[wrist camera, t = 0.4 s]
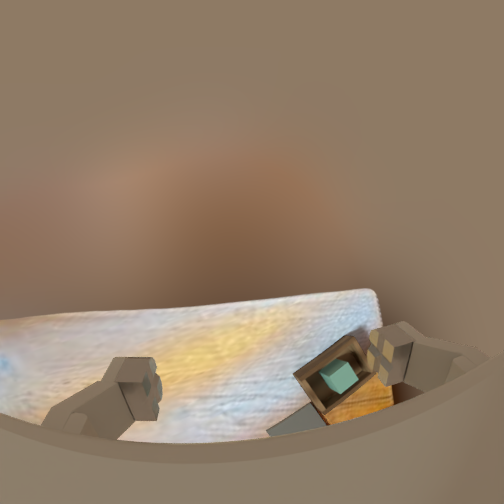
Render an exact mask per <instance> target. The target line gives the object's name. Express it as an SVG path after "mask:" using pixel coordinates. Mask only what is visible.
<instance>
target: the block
mask: <svg viewBox="0 0 504 504" xmlns="http://www.w3.org/2000/svg"><path fill="white" fill-rule="evenodd" d="M318 372H319V374H320V375H321V377H322V378H323V379H324V381H325V382H326V384H327V385H328V387H329V388H331V389H332V390H334V391H336V392H338V393H339V394H341V393H343V392H344V391H345V390H346V389H348V388H349V387H350V386H351V385H353V384H354V383H355V382H356V381H357V380H359V379H358V378H357V376H356V374H355V373H354V371H353V370H352V368H351V366H350V365H349V363H348V362H346V361H342V360H339V359H334V360H333V361H332V362H330V363H329V364H328V365H326V366H325V367H324V368H322V369H321V370H320V371H318Z"/></svg>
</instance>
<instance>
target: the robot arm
mask: <svg viewBox="0 0 504 504" xmlns="http://www.w3.org/2000/svg"><path fill="white" fill-rule="evenodd" d="M369 340H370V342H371V343H372V344H371V345H370V347H369V348H368V351H367V360H368V364H369V366H370V368H371V369H372V371H375V372H377V373H378V378H379V379H380V381H381V382H382V383H383V384H384V386H385V387H387V386H390V385H393V384H396V383H399V382H403V381H404V382H405V383H407V384H409V385H411V386H413V387H415V388H417V389H419V390H422V391H424V392H426V393H424V394H421V395H419V396H417V397H414V398H412V399H409V400H407V401H404V402H402V403H399V404H397V405H394V406H391V407H388V408H385V409H383V410H380V411H377V412H374V413H371V414H368V415H364V416H361V417H358V418H355V419H351V420H348V421H344V422H340V423H336V424H333V425H329V426H324V427H320V428H316V429H311V430H306V431H301V432H296V433H291V434H285V435H279V436H273V437H266V438H258V439H250V440H241V441H229V442H215V443H147V442H134V441H123V440H117V439H118V438H119V437H120V436H121V435H122V434H123V433H124V432H125V431H126V430H127V429H128V428H129V427H130V426H131V425H132V424H133V423H134V422H135V421H157V417H158V413H159V406H158V403H159V402H160V401H161V399H162V383H161V379H160V376H158V375H157V374H156V373H155V372H156V368H157V366H156V363H155V360H154V359H153V358H152V357H115V358H113V360H112V362H111V363H110V365H109V367H108V369H107V371H106V373H105V374H104V376H103V378H102V380H101V381H97V382H95V383H93V384H92V385H90V386H88V387H87V388H85V389H83V390H81V391H80V392H78V393H76V394H74V395H73V396H71V397H69V398H67V399H66V400H64V401H62V402H60V403H59V404H57V405H55V406H53V407H52V408H51V409H50V411H49V412H48V414H47V416H46V417H45V419H44V421H43V422H42V424H41V425H37V424H33V423H30V422H27V421H23V420H20V419H17V418H14V417H11V416H8V415H5V414H3V413H0V504H504V350H503V351H502V352H500V353H499V354H497V355H496V356H494V357H492V358H490V357H489V356H488V355H486V354H485V353H483V352H482V351H481V350H479V349H478V348H476V347H473V346H468V345H463V344H458V343H454V342H450V341H445V340H440V339H436V338H432V337H427V338H426V337H425V336H423V335H422V334H421V333H420V332H418V331H417V330H416V329H414V328H413V327H412V326H411V325H409V324H408V323H407V322H404V321H402V322H399V323H395V324H392V325H389V326H385V327H381V328H378V329H374V330H371V332H370V336H369Z"/></svg>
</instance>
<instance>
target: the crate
mask: <svg viewBox="0 0 504 504" xmlns="http://www.w3.org/2000/svg"><path fill="white" fill-rule="evenodd" d="M334 359H339V360H342V361H346V362H348V363H349V365H350V366H351V368H352V370H353V371H354V373H355V374H356V376H357V378H358V379H359V380H357V381H356V382H355V383H354V384H353V385H351V386H350V387H349V388H348V389H346V390H345V391H344V392H343V393H341V394H339V393H338V392H336V391H334V390H332V389H331V388H329V387H328V385H327V384H326V382H325V381H324V379H323V378H322V377H321V375H320V374H319V372H318V371H320V370H321V369H322V368H324V367H325V366H326V365H328V364H329V363H330V362H332V361H333V360H334ZM375 374H376V372H375V371H372V369H371V368H370V366H369V364H368V360H367V357H366V355H365V353H364V352H363V350H362V348H361V347H360V345H359V343H358V342H357V340H356V339H355V337H354V336H343V337H342V338H340V339H339V340H338V341H337V342H335V343H334V344H333V345H331V346H330V347H329V348H327V349H326V350H325V351H324V352H322V353H321V354H320V355H318V356H317V357H315V358H314V359H313V360H311V361H310V362H309V363H307V364H306V365H304V366H303V367H302V368H300V369H299V370H297V371H296V372H294V373H293V375H294V377H295V378H296V380H297V381H298V383H299V384H300V385H301V387H302V388H303V390H304V391H305V393H306V394H307V395H308V397H309V398H310V400H311V401H312V402H313V404H314V405H315V407H316V408H317V409H318V410H319V411H320V412H321V413H323V414H324V415H325V414H327V413H328V412H329V411H331V410H332V409H333V408H335V407H336V406H337V405H339V404H340V403H341V402H343V401H344V400H345V399H346V398H348V397H349V396H350V395H351V394H353V393H354V392H355V391H356V390H358V389H359V388H360V387H361V386H362V385H364V384H365V383H366V382H367V381H368V380H369V379H371V378H372V377H373V376H374V375H375Z"/></svg>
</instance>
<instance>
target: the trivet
mask: <svg viewBox="0 0 504 504" xmlns="http://www.w3.org/2000/svg"><path fill="white" fill-rule="evenodd" d="M324 426H327V425H326V424H325V422H324V421H323V420H322V418H321V417H320V415H319V414H318V413H317V411H316V410H315V408H314V407H313V406H312V404H311V403H310V402H309V403H308V404H306V405H305V406H303V407H302V408H301V409H299V410H298V411H296V412H295V413H293V414H292V415H290V416H288V417H287V418H285V419H284V420H282V421H281V422H279V423H277V424H276V425H274V426H273V427H271V428H269V429H268V430H266V431H267V433H268V434H269V435H270V436H271V437H273V436H279V435H285V434H291V433H296V432H301V431H306V430H311V429H316V428H320V427H324Z"/></svg>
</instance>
